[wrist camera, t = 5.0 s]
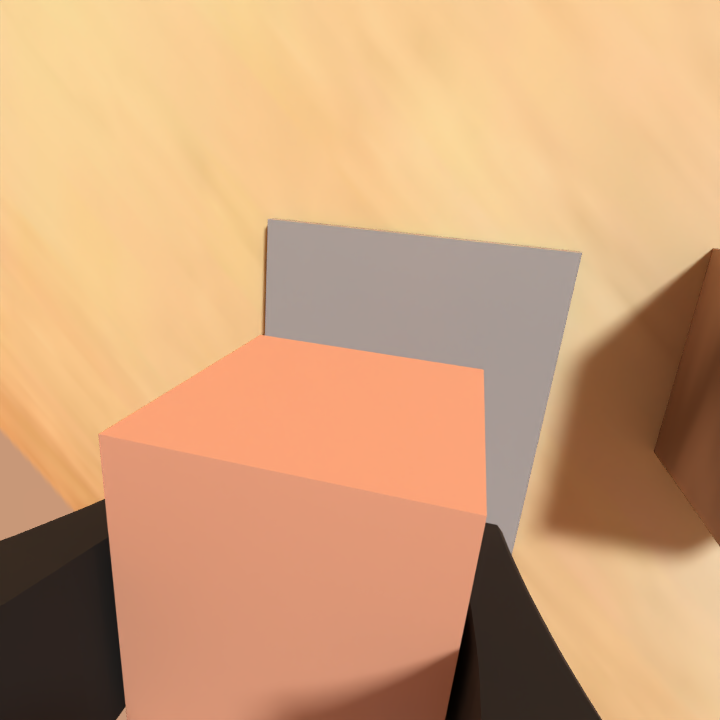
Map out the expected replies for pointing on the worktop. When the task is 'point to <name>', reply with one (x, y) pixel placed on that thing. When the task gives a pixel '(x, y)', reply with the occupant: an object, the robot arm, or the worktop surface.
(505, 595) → the robot arm
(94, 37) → the worktop surface
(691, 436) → the walnut block
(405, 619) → the terracotta block
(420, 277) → the baseplate
